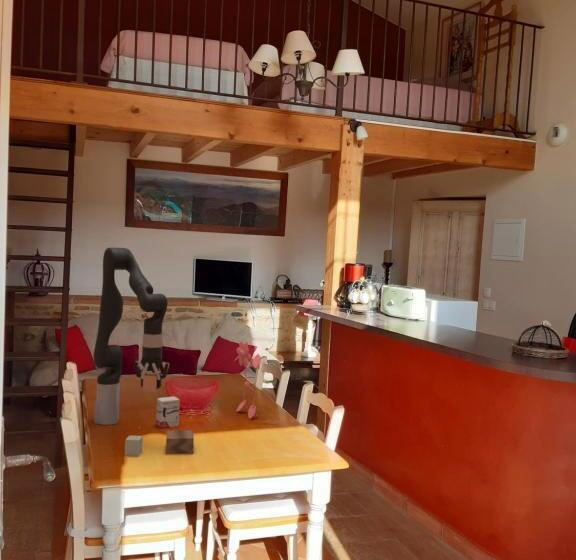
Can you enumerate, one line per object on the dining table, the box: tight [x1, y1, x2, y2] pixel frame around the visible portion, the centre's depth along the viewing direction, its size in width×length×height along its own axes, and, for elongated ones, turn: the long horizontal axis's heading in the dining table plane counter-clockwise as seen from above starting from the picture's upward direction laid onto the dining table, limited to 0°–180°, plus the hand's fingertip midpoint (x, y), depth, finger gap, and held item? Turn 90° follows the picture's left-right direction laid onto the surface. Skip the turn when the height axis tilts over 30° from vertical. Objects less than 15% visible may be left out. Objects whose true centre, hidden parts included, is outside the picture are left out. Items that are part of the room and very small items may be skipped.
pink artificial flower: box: [226, 340, 262, 423], centre depth 281 cm, size 15×26×35 cm, turn 30°
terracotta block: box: [142, 372, 159, 393], centre depth 240 cm, size 5×5×6 cm
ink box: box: [155, 395, 180, 429], centre depth 263 cm, size 8×5×12 cm, turn 123°
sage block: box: [124, 435, 144, 457], centre depth 227 cm, size 5×5×6 cm
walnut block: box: [165, 429, 195, 455], centre depth 234 cm, size 10×10×6 cm
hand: (150, 388), depth 240 cm, fingers closed on terracotta block, 5 cm apart
